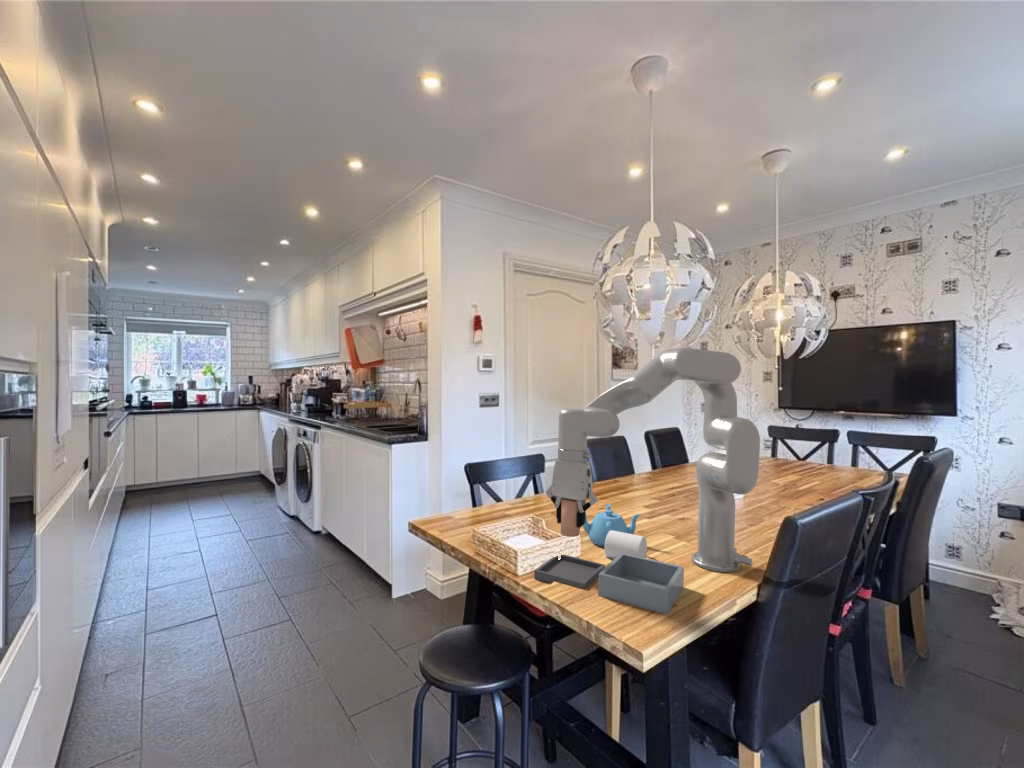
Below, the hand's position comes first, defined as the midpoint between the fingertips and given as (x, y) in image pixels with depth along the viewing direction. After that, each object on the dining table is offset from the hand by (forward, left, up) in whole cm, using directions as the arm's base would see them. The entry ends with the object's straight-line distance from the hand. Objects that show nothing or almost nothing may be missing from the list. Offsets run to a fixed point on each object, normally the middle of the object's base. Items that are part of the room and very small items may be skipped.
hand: (570, 523), depth 120 cm
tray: (0, 0, -14) cm, 14 cm away
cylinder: (0, 0, -3) cm, 3 cm away
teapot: (+1, -31, -14) cm, 34 cm away
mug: (-9, -20, -14) cm, 26 cm away
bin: (-19, 0, -14) cm, 24 cm away
